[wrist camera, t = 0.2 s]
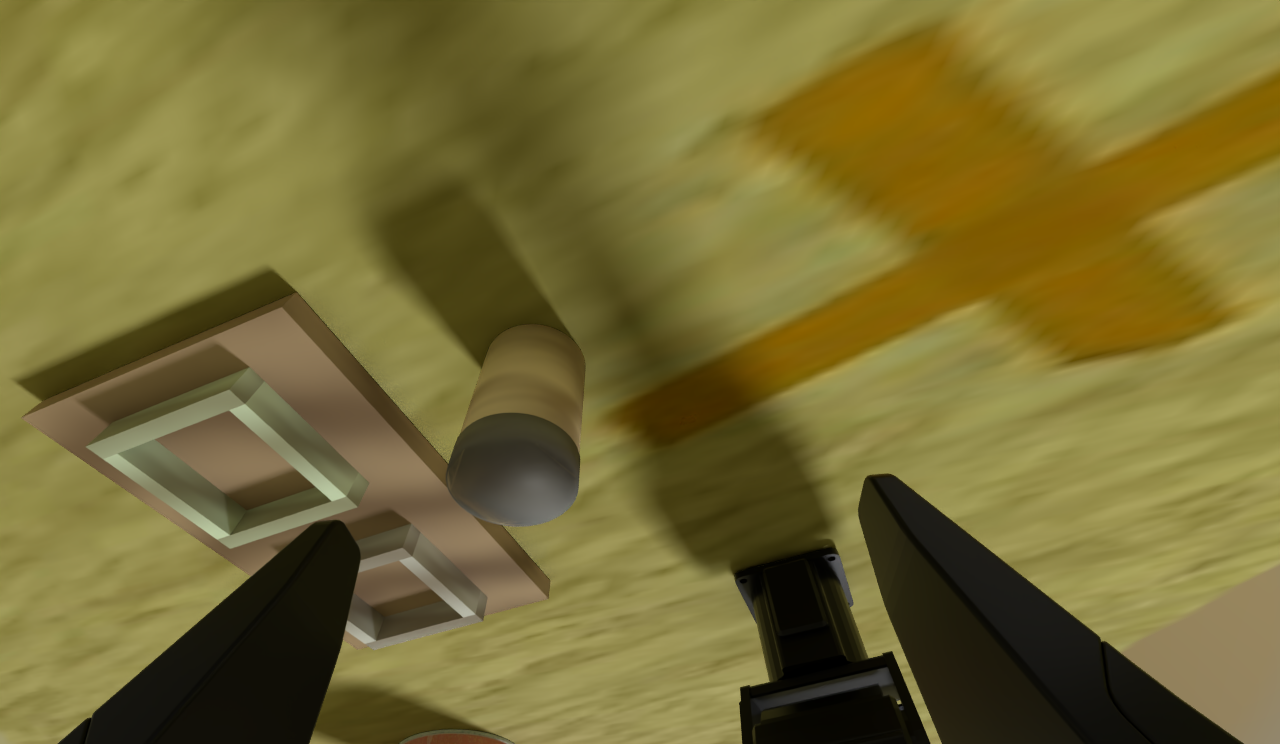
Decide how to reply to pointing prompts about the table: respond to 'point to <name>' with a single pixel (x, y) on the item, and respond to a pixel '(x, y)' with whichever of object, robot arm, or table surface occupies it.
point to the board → (295, 468)
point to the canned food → (455, 737)
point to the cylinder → (522, 430)
